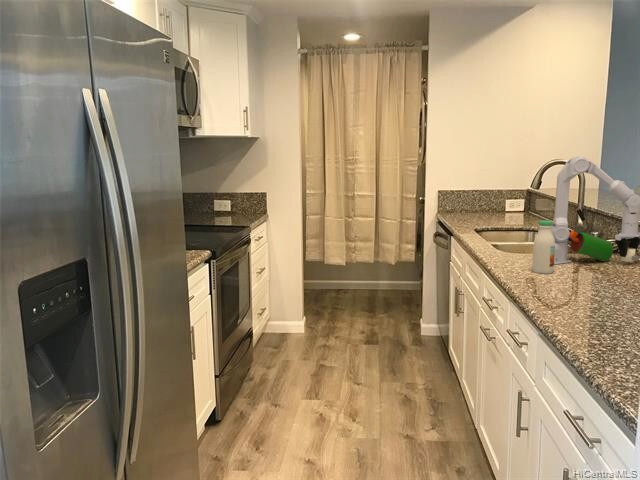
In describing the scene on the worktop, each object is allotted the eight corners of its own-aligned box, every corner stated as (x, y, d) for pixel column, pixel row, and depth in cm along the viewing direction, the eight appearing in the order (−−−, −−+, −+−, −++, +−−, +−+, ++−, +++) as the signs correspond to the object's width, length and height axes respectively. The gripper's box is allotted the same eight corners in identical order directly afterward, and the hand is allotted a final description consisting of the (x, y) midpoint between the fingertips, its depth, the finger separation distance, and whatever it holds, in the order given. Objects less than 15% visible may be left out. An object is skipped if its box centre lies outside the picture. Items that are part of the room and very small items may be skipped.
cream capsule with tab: (633, 263, 214) (634, 250, 213) (617, 259, 220) (618, 247, 219) (641, 262, 216) (642, 249, 215) (625, 258, 222) (626, 247, 221)
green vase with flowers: (590, 255, 233) (555, 243, 226) (599, 237, 230) (564, 224, 224) (606, 264, 223) (570, 252, 217) (617, 245, 221) (581, 232, 215)
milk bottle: (543, 275, 203) (547, 223, 200) (527, 271, 210) (530, 220, 206) (557, 272, 207) (561, 221, 203) (541, 268, 213) (544, 219, 210)
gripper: (627, 225, 210) (624, 259, 212) (651, 222, 216) (648, 255, 218) (611, 223, 216) (608, 256, 218) (634, 220, 222) (631, 252, 225)
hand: (627, 256), depth 219 cm, fingers closed on cream capsule with tab, 5 cm apart
